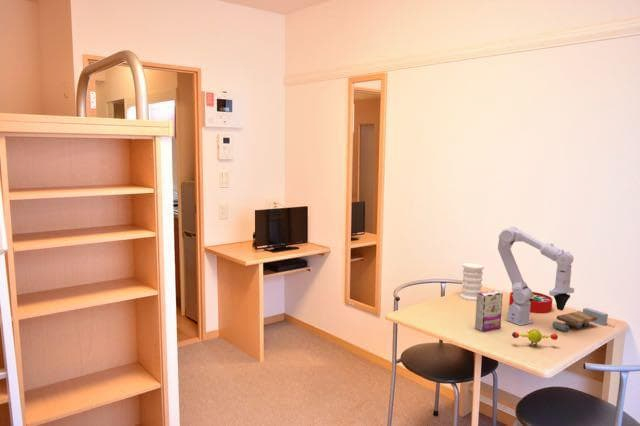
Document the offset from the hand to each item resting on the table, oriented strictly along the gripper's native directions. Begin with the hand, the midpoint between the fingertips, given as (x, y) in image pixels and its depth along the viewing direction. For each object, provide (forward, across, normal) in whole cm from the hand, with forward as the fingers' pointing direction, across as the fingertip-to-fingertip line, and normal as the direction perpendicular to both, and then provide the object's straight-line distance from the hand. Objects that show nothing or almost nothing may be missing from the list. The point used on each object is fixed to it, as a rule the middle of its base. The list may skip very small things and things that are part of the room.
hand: (560, 309), depth 210 cm
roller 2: (+6, +11, 0) cm, 13 cm away
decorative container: (+10, +1, +52) cm, 53 cm away
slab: (+6, +13, 0) cm, 15 cm away
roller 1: (+8, 0, 0) cm, 8 cm away
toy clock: (+10, +18, +28) cm, 34 cm away
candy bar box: (+10, -28, +15) cm, 33 cm away
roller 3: (+10, +17, 0) cm, 19 cm away
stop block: (+9, +27, 0) cm, 29 cm away
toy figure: (+10, -26, -7) cm, 29 cm away
